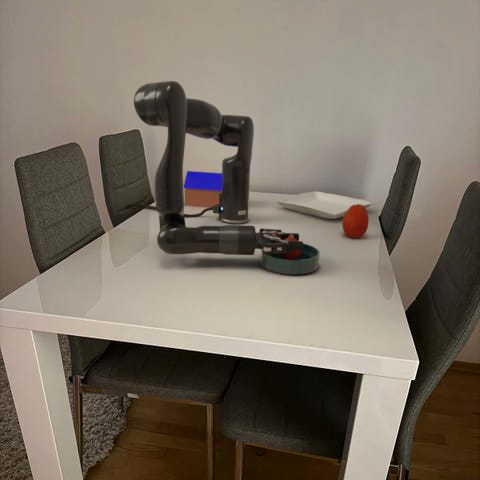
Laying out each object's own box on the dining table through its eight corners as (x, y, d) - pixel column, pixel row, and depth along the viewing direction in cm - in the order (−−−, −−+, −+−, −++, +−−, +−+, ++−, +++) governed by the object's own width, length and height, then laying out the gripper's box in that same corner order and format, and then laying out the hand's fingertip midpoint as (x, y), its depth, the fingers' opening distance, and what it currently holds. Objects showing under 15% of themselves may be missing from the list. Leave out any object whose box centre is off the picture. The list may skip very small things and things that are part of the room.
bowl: (250, 267, 119) (251, 252, 117) (276, 251, 130) (277, 237, 128) (304, 281, 112) (305, 265, 110) (326, 263, 124) (328, 248, 122)
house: (235, 209, 171) (236, 177, 165) (183, 205, 173) (183, 173, 168) (240, 201, 181) (241, 171, 176) (191, 198, 184) (191, 168, 178)
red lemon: (276, 259, 123) (278, 230, 119) (297, 259, 124) (300, 230, 120) (279, 267, 118) (282, 237, 114) (301, 267, 118) (304, 237, 115)
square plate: (372, 211, 175) (374, 201, 173) (334, 224, 157) (335, 213, 155) (314, 198, 191) (315, 189, 189) (273, 209, 173) (274, 198, 171)
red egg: (349, 230, 151) (354, 198, 146) (371, 236, 146) (377, 203, 141) (335, 235, 146) (340, 202, 141) (357, 242, 141) (363, 207, 136)
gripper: (237, 234, 109) (307, 236, 110) (235, 218, 122) (298, 219, 123) (236, 263, 113) (304, 265, 113) (235, 245, 125) (295, 246, 126)
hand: (300, 241), depth 118 cm, fingers open, 6 cm apart
